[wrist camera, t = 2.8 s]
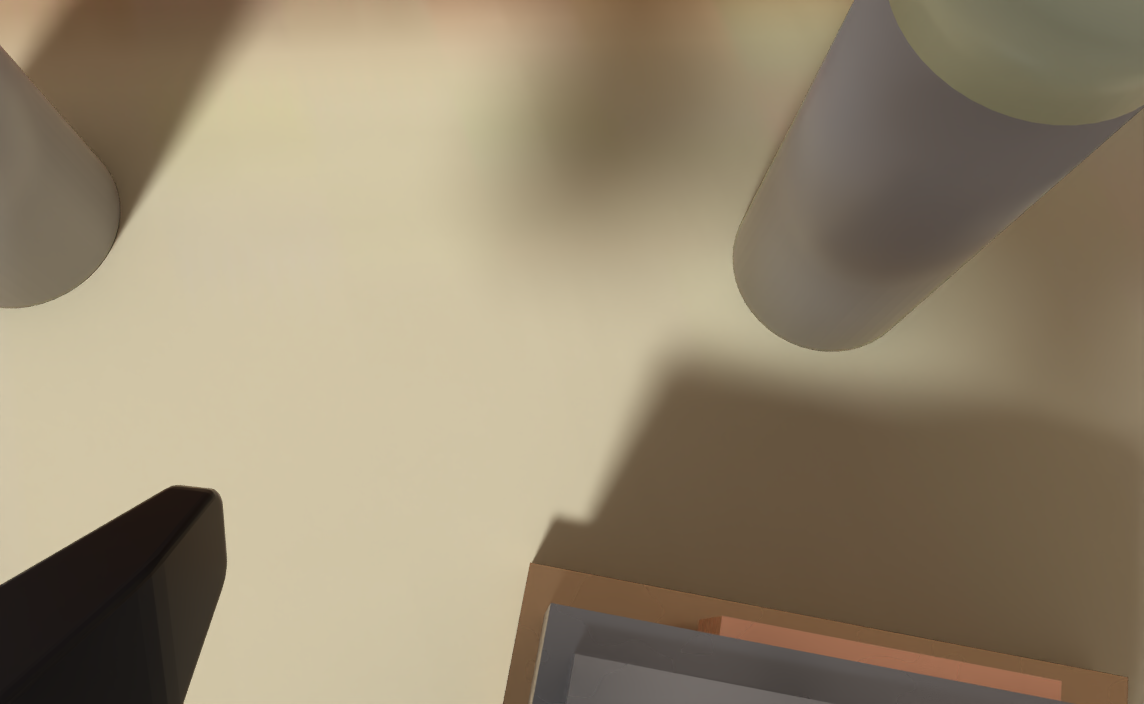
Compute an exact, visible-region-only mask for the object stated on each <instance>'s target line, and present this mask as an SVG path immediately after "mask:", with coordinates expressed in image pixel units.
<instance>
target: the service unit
mask: <svg viewBox="0 0 1144 704" xmlns="http://www.w3.org/2000/svg"><path fill="white" fill-rule="evenodd" d="M1127 698H1128V677H1124V676H1119V675H1113V674H1108V673H1103V672H1098V671H1092V670H1087V669H1082V668H1077V667H1072V666H1066V665H1061V664H1056V663H1051V662H1046V661H1040V660H1035V659H1030V658H1025V657H1020V656H1014V655H1009V654H1004V653H999V652H993V651H988V650H983V649H978V648H973V647H967V646H962V645H957V644H952V643H947V642H941V641H936V640H931V639H926V638H921V637H915V636H910V635H905V634H900V633H894V632H889V631H884V630H879V629H874V628H868V627H863V626H858V625H853V624H848V623H842V622H837V621H832V620H827V619H822V618H816V617H811V616H806V615H801V614H796V613H790V612H785V611H780V610H775V609H769V608H764V607H759V606H754V605H749V604H743V603H738V602H733V601H728V600H723V599H717V598H712V597H707V596H702V595H697V594H691V593H686V592H681V591H676V590H670V589H665V588H660V587H655V586H650V585H644V584H639V583H634V582H629V581H624V580H618V579H613V578H608V577H603V576H598V575H592V574H587V573H582V572H577V571H571V570H566V569H561V568H556V567H551V566H545V565H540V564H535V563H530V566H529V572H528V577H527V582H526V587H525V592H524V597H523V603H522V608H521V613H520V618H519V623H518V629H517V634H516V639H515V644H514V649H513V654H512V660H511V665H510V670H509V675H508V680H507V686H506V691H505V696H504V701H503V704H1127Z"/></svg>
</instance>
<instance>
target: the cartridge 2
mask: <svg viewBox="0 0 1144 704" xmlns="http://www.w3.org/2000/svg"><path fill="white" fill-rule="evenodd" d="M1143 108H1144V0H854V2H853V4H852V6H851V8H850V10H849V12H848V14H847V16H846V18H845V20H844V21H843V23H842V25H841V27H840V29H839V31H838V33H837V35H836V37H835V39H834V41H833V43H832V45H831V47H830V49H829V51H828V53H827V55H826V57H825V59H824V61H823V63H822V65H821V67H820V69H819V71H818V73H817V75H816V77H815V79H814V81H813V83H812V85H811V86H810V88H809V90H808V92H807V94H806V96H805V98H804V100H803V102H802V104H801V106H800V108H799V110H798V112H797V114H796V116H795V118H794V120H793V122H792V124H791V126H790V128H789V130H788V132H787V134H786V136H785V138H784V140H783V142H782V144H781V146H780V148H779V150H778V152H777V153H776V155H775V157H774V159H773V161H772V163H771V165H770V167H769V169H768V171H767V173H766V175H765V177H764V179H763V181H762V183H761V185H760V187H759V189H758V191H757V193H756V195H755V197H754V199H753V201H752V203H751V205H750V207H749V209H748V211H747V213H746V215H745V217H744V219H743V220H742V222H741V224H740V227H739V229H738V232H737V234H736V238H735V242H734V247H733V270H734V275H735V280H736V283H737V286H738V289H739V291H740V293H741V295H742V297H743V299H744V301H745V303H746V305H747V306H748V307H749V309H750V310H751V312H752V313H753V314H754V315H755V317H756V318H757V319H758V320H759V321H760V322H761V323H762V324H763V325H764V326H765V327H767V328H768V329H769V330H770V331H772V332H773V333H775V334H776V335H777V336H779V337H781V338H783V339H784V340H786V341H788V342H790V343H793V344H795V345H798V346H800V347H804V348H808V349H812V350H818V351H845V350H851V349H855V348H859V347H862V346H864V345H867V344H869V343H871V342H873V341H875V340H877V339H878V338H880V337H882V336H883V335H884V334H885V333H887V332H888V331H889V330H890V329H891V328H893V327H894V326H895V325H896V324H897V323H898V322H899V321H901V320H902V319H903V318H904V317H905V316H906V315H907V314H909V313H910V312H911V311H912V310H913V309H914V308H915V307H917V306H918V305H919V304H920V303H921V302H922V301H923V300H925V299H926V298H927V297H928V296H929V295H930V294H931V293H933V292H934V291H935V290H936V289H937V288H938V287H939V286H941V285H942V284H943V283H944V282H945V281H946V280H947V279H949V278H950V277H951V276H952V275H953V274H954V273H955V272H956V271H958V270H959V269H960V268H961V267H962V266H963V265H964V264H966V263H967V262H968V261H969V260H970V259H971V258H972V257H974V256H975V255H976V254H977V253H978V252H979V251H980V250H982V249H983V248H984V247H985V246H986V245H987V244H988V243H990V242H991V241H992V240H993V239H994V238H995V237H996V236H998V235H999V234H1000V233H1001V232H1002V231H1003V230H1004V229H1006V228H1007V227H1008V226H1009V225H1010V224H1011V223H1012V222H1014V221H1015V220H1016V219H1017V218H1018V217H1019V216H1020V215H1022V214H1023V213H1024V212H1025V211H1026V210H1027V209H1028V208H1030V207H1031V206H1032V205H1033V204H1034V203H1035V202H1036V201H1038V200H1039V199H1040V198H1041V197H1042V196H1043V195H1044V194H1046V193H1047V192H1048V191H1049V190H1050V189H1051V188H1052V187H1054V186H1055V185H1056V184H1057V183H1058V182H1059V181H1060V180H1062V179H1063V178H1064V177H1065V176H1066V175H1067V174H1068V173H1070V172H1071V171H1072V170H1073V169H1074V168H1075V167H1076V166H1078V165H1079V164H1080V163H1081V162H1082V161H1083V160H1084V159H1085V158H1087V157H1088V156H1089V155H1090V154H1091V153H1092V152H1093V151H1095V150H1096V149H1097V148H1098V147H1099V146H1100V145H1101V144H1103V143H1104V142H1105V141H1106V140H1107V139H1108V138H1109V137H1111V136H1112V135H1113V134H1114V133H1115V132H1116V131H1117V130H1119V129H1120V128H1121V127H1122V126H1123V125H1124V124H1125V123H1127V122H1128V121H1129V120H1130V119H1131V118H1132V117H1133V116H1135V115H1136V114H1137V113H1138V112H1139V111H1140V110H1141V109H1143Z"/></svg>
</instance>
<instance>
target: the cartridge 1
mask: <svg viewBox="0 0 1144 704" xmlns="http://www.w3.org/2000/svg"><path fill="white" fill-rule="evenodd" d="M119 219H120V201H119V195H118V191H117V188H116V185H115V182H114V180H113V178H112V176H111V174H110V173H109V171H108V170H107V168H106V167H105V166H104V164H103V163H102V162H101V161H100V160H99V158H98V157H97V156H96V155H95V154H94V153H93V152H92V150H91V149H90V148H89V147H88V146H87V145H86V143H85V142H84V141H83V140H82V139H81V138H80V137H79V135H78V134H77V133H76V132H75V131H74V130H73V128H72V127H71V126H70V125H69V124H68V123H67V122H66V120H65V119H64V118H63V117H62V116H61V115H60V113H59V112H58V111H57V110H56V109H55V108H54V107H53V105H52V104H51V103H50V102H49V101H48V100H47V98H46V97H45V96H44V95H43V94H42V93H41V92H40V90H39V89H38V88H37V87H36V86H35V85H34V83H33V82H32V81H31V80H30V79H29V78H28V77H27V75H26V74H25V73H24V72H23V71H22V70H21V68H20V67H19V66H18V65H17V64H16V63H15V62H14V60H13V59H12V58H11V57H10V56H9V55H8V53H7V52H6V51H5V50H4V49H3V48H2V47H1V45H0V308H22V307H30V306H34V305H39V304H43V303H45V302H48V301H51V300H54V299H56V298H58V297H60V296H62V295H64V294H66V293H68V292H70V291H71V290H73V289H74V288H76V287H77V286H79V285H80V284H81V283H82V282H84V281H85V280H86V279H87V278H88V277H89V276H90V275H91V274H92V273H93V272H94V271H95V270H96V269H97V268H98V267H99V265H100V264H101V263H102V262H103V260H104V259H105V257H106V256H107V254H108V252H109V250H110V249H111V247H112V244H113V242H114V240H115V237H116V234H117V230H118V226H119Z"/></svg>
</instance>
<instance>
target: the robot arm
mask: <svg viewBox="0 0 1144 704" xmlns="http://www.w3.org/2000/svg"><path fill="white" fill-rule="evenodd" d="M226 569H227V553H226V540H225V527H224V514H223V504H222V500H221V497H220V494H219V493H218V492H217V491H215V490H214V489H210V488H201V487H192V486H183V485H175V486H171V487H169V488H167V489H165V490H163V491H161V492H159V493H158V494H156V495H154V496H153V497H151V498H149V499H147V500H146V501H144V502H142V503H141V504H139V505H137V506H135V507H134V508H132V509H130V510H129V511H127V512H125V513H123V514H122V515H120V516H118V517H116V518H115V519H113V520H111V521H110V522H108V523H106V524H104V525H103V526H101V527H99V528H98V529H96V530H94V531H92V532H91V533H89V534H87V535H86V536H84V537H82V538H80V539H79V540H77V541H75V542H73V543H72V544H70V545H68V546H67V547H65V548H63V549H61V550H60V551H58V552H56V553H55V554H53V555H51V556H49V557H48V558H46V559H44V560H43V561H41V562H39V563H37V564H36V565H34V566H32V567H30V568H29V569H27V570H25V571H24V572H22V573H20V574H18V575H17V576H15V577H13V578H12V579H10V580H8V581H6V582H5V583H3V584H1V585H0V704H183V703H184V700H185V697H186V694H187V691H188V688H189V685H190V682H191V679H192V676H193V673H194V670H195V667H196V664H197V661H198V658H199V655H200V653H201V650H202V647H203V644H204V641H205V638H206V635H207V632H208V629H209V626H210V623H211V620H212V617H213V614H214V611H215V608H216V605H217V603H218V600H219V597H220V594H221V591H222V588H223V584H224V580H225V576H226Z"/></svg>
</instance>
